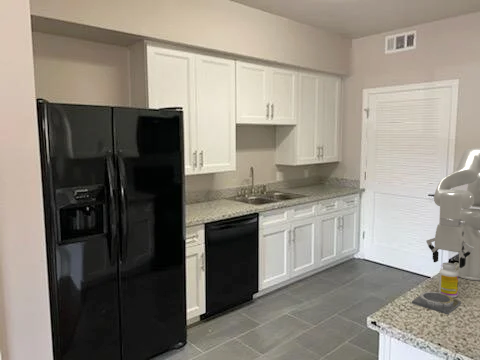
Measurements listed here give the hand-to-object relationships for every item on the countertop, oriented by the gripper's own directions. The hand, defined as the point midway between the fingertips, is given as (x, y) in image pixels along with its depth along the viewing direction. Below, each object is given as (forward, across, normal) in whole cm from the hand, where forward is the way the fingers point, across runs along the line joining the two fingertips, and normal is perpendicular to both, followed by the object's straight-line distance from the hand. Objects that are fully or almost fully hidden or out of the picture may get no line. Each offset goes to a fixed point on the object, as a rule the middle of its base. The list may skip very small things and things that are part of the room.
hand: (448, 264), depth 148 cm
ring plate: (+13, 0, +11) cm, 17 cm away
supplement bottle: (+13, 0, -1) cm, 13 cm away
